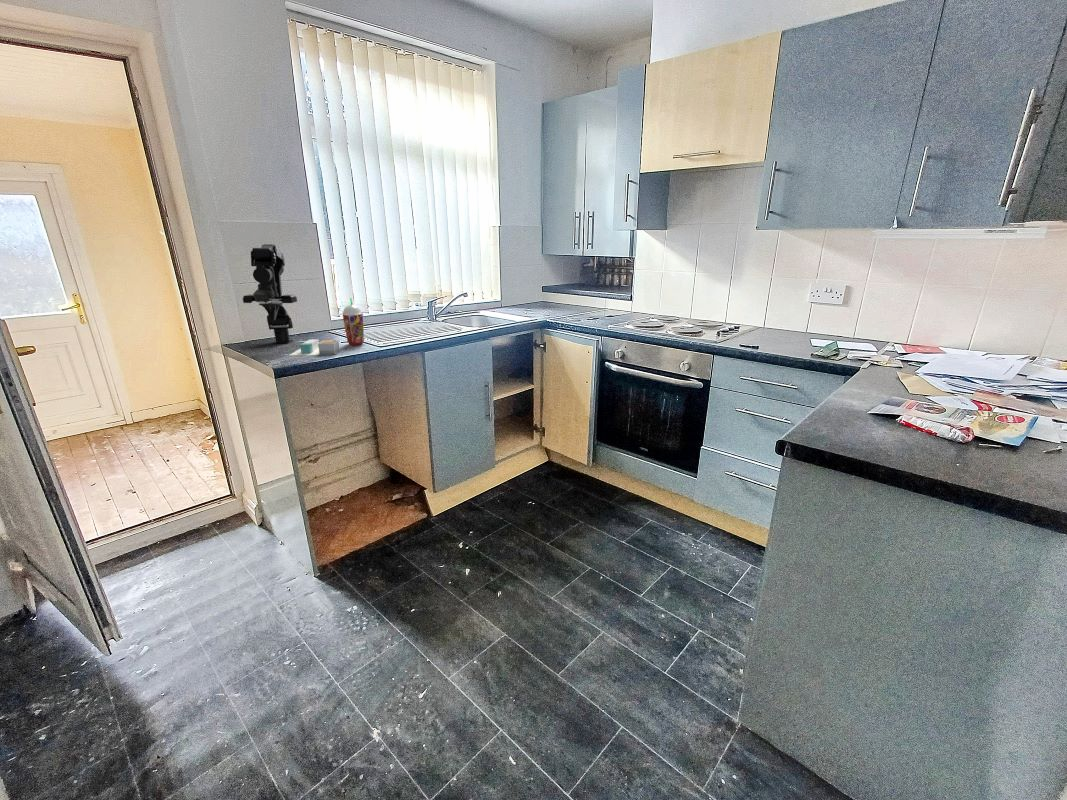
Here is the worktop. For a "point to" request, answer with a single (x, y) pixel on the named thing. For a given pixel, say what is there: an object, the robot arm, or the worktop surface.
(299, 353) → the paper sheet
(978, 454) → the worktop surface
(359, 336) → the smoothie
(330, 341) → the button
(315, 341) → the milk carton
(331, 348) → the button housing
